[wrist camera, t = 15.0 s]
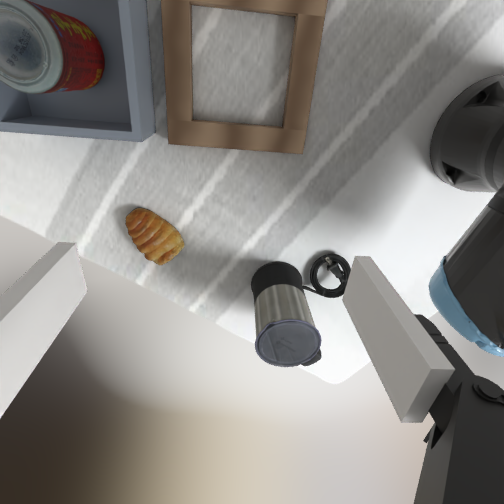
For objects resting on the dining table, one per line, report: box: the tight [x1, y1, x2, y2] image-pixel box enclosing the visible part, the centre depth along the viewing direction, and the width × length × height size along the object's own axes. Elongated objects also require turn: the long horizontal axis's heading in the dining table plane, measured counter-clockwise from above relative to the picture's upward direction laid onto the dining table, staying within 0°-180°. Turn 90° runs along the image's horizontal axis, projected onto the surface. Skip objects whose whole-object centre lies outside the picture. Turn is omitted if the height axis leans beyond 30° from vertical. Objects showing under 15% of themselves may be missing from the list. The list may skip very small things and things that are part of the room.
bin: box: [0, 0, 156, 142], centre depth 33 cm, size 16×16×7 cm
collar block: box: [161, 0, 328, 154], centre depth 37 cm, size 18×18×2 cm
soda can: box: [0, 0, 105, 94], centre depth 30 cm, size 7×7×12 cm
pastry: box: [126, 208, 184, 265], centre depth 47 cm, size 9×7×4 cm
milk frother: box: [251, 254, 351, 367], centre depth 48 cm, size 14×16×15 cm
